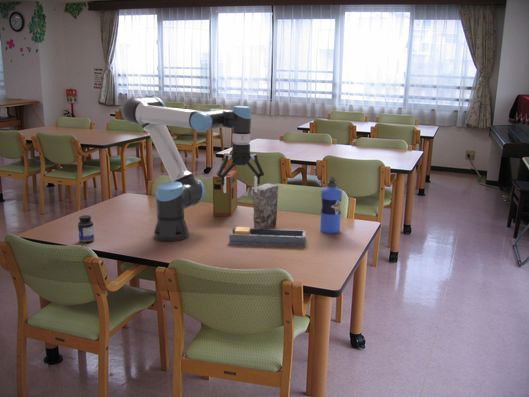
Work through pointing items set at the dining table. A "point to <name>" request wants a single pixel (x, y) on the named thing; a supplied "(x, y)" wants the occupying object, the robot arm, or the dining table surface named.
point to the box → (225, 195)
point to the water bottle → (331, 208)
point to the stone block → (265, 206)
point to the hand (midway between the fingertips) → (240, 192)
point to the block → (242, 230)
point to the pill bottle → (85, 229)
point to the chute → (270, 237)
